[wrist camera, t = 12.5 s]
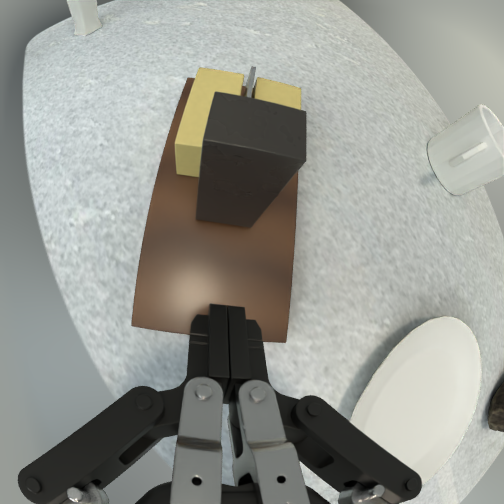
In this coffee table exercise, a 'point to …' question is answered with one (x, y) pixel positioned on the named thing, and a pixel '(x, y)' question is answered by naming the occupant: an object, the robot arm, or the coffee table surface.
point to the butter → (200, 103)
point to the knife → (247, 156)
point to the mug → (468, 151)
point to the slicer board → (212, 255)
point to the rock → (497, 411)
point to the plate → (423, 395)
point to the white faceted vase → (84, 16)
